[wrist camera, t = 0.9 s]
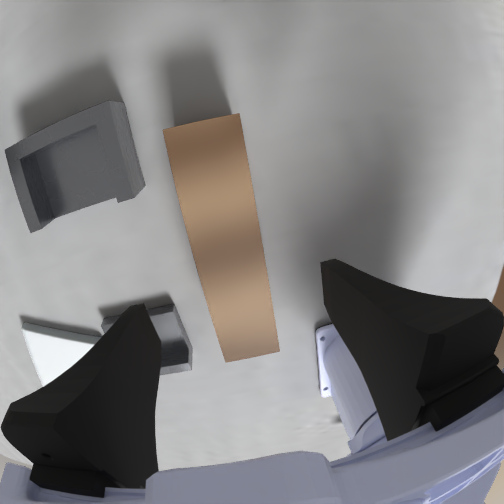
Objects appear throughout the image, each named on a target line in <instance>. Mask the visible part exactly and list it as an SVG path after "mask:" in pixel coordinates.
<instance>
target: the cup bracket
mask: <svg viewBox="0 0 504 504" xmlns="http://www.w3.org/2000/svg"><path fill="white" fill-rule="evenodd" d="M5 154H6V158H7V162H8V165H9V169H10V173H11V176H12V180H13V183H14V186H15V190H16V193H17V196H18V199H19V202H20V205H21V208H22V211H23V214H24V217H25V219H26V222H27V225H28V227H29V230H30V233H32V232H35V231H37V230H40V229H42V228H43V227H45V226H46V225H47V224H48V223H50V222H51V221H52V220H54V219H55V218H57V217H60V216H62V215H65V214H68V213H71V212H74V211H76V210H79V209H82V208H85V207H88V206H91V205H94V204H97V203H100V202H103V201H106V200H109V199H112V198H117V201H118V203H119V202H122V201H125V200H129V199H132V198H135V197H136V195H137V194H138V193H139V192H140V191H141V190H142V189H143V188H144V187H145V183H144V179H143V176H142V172H141V168H140V165H139V161H138V157H137V154H136V150H135V146H134V142H133V138H132V134H131V130H130V126H129V122H128V117H127V113H126V109H125V104H124V103H122V102H116V101H110V100H109V101H106V102H103V103H101V104H98V105H96V106H93V107H91V108H88V109H86V110H83V111H81V112H79V113H76V114H74V115H72V116H70V117H67V118H65V119H63V120H61V121H59V122H57V123H54V124H52V125H50V126H48V127H46V128H44V129H42V130H40V131H38V132H36V133H34V134H33V135H31V136H29V137H27V138H25V139H23V140H21V141H20V142H18V143H16V144H14V145H13V146H11V147H9V148H7V149H6V150H5Z"/></svg>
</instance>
